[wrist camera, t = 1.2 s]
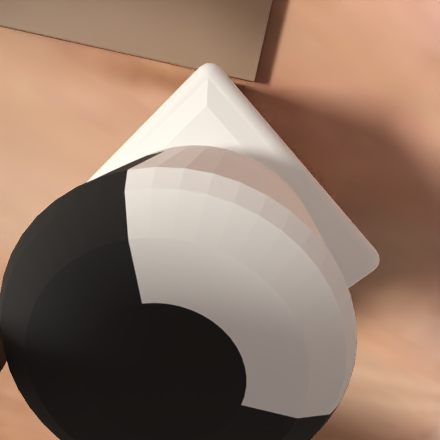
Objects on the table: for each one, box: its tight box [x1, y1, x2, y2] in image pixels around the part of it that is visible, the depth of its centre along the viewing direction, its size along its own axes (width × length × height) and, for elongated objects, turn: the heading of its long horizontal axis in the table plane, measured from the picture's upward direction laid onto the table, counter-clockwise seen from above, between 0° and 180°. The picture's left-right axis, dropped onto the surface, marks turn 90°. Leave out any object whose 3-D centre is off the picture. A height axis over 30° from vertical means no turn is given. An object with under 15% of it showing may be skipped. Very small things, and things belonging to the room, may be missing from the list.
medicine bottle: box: [0, 63, 380, 440], centre depth 11 cm, size 7×7×12 cm
